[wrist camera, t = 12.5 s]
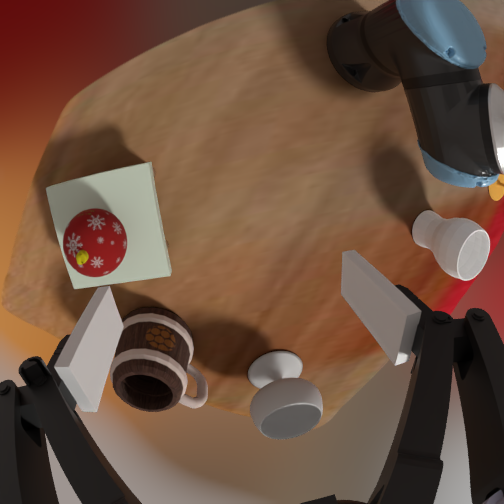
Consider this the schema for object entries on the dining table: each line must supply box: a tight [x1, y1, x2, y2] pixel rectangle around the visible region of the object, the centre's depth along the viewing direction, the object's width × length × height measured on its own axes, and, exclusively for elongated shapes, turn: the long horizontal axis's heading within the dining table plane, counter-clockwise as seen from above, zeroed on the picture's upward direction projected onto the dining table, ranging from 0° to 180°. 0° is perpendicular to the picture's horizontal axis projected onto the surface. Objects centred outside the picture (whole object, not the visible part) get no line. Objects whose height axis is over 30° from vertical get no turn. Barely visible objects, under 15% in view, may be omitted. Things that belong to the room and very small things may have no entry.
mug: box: [110, 307, 208, 412], centre depth 49 cm, size 20×15×15 cm
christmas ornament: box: [63, 208, 127, 277], centre depth 33 cm, size 9×9×10 cm
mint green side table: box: [46, 162, 172, 289], centre depth 42 cm, size 16×16×8 cm
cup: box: [412, 210, 490, 281], centre depth 48 cm, size 11×11×15 cm
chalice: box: [248, 351, 323, 439], centre depth 55 cm, size 14×14×15 cm
